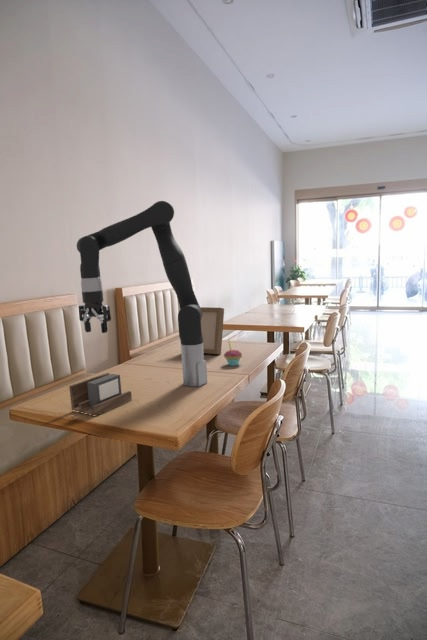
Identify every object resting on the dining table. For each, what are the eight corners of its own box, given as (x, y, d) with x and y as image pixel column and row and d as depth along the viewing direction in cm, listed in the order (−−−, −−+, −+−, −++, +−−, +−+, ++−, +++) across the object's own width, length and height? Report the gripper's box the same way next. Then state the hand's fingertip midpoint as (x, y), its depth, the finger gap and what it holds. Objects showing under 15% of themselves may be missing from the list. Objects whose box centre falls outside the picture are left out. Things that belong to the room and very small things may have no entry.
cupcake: (222, 366, 201) (220, 341, 200) (228, 361, 209) (227, 338, 207) (239, 367, 198) (238, 342, 196) (244, 362, 206) (243, 338, 204)
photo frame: (216, 355, 222) (214, 308, 219) (183, 353, 234) (180, 308, 231) (230, 350, 235) (228, 305, 232) (198, 347, 246) (195, 305, 243)
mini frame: (122, 398, 158) (120, 374, 156) (98, 408, 148) (95, 384, 146) (114, 396, 160) (112, 373, 159) (89, 407, 150) (87, 382, 149)
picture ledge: (131, 400, 159) (129, 376, 158) (95, 416, 144) (92, 390, 143) (109, 396, 166) (107, 372, 164) (72, 411, 151) (69, 385, 149)
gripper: (113, 288, 158) (117, 331, 161) (86, 289, 165) (90, 329, 168) (98, 290, 152) (102, 335, 154) (71, 291, 159) (75, 333, 161)
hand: (96, 332), depth 161 cm, fingers open, 8 cm apart
